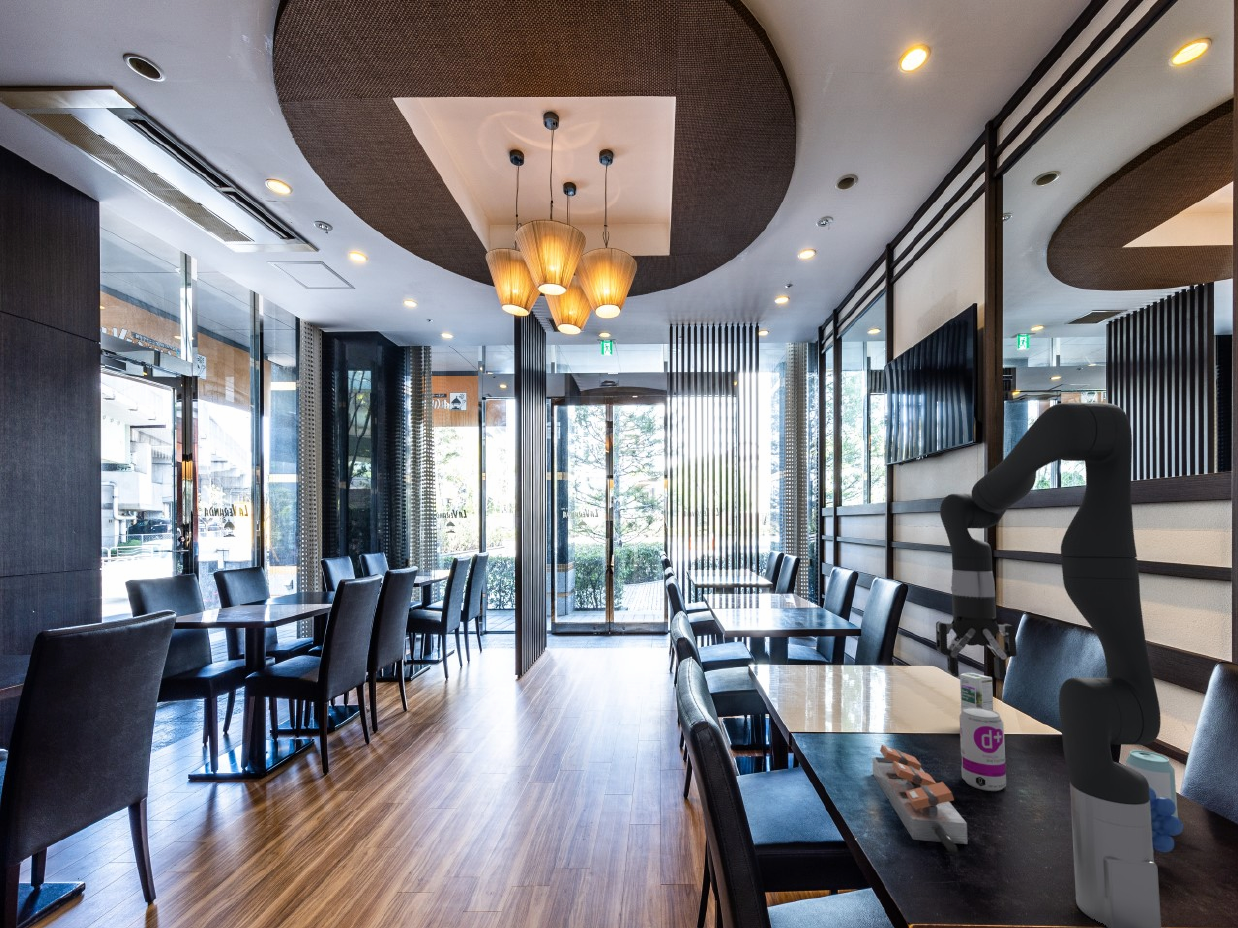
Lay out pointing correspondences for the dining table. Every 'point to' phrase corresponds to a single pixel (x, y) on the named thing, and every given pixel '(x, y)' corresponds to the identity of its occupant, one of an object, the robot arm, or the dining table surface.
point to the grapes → (1163, 822)
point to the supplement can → (982, 748)
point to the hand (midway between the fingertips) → (977, 676)
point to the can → (1155, 773)
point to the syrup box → (976, 691)
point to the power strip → (920, 810)
